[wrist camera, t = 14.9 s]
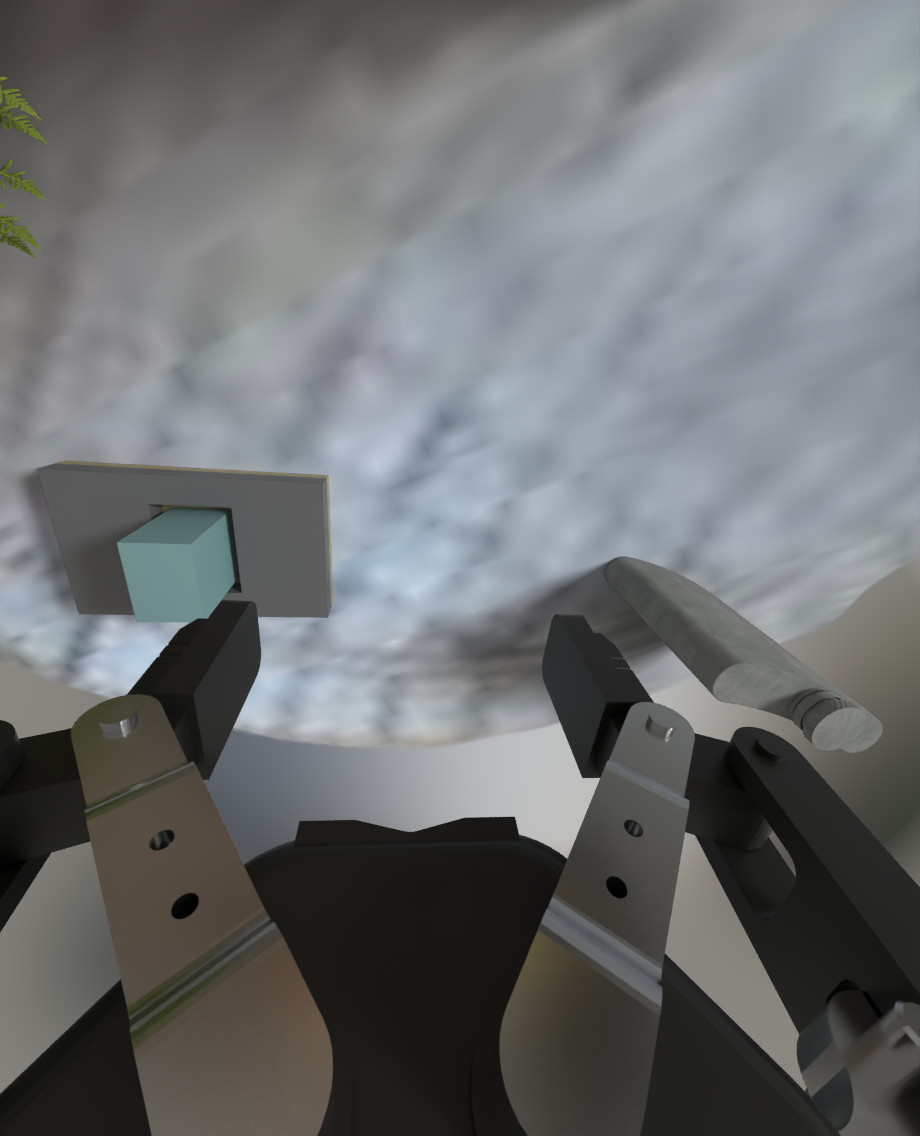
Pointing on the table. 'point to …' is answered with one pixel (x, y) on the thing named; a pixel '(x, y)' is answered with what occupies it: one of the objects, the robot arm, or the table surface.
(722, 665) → the hip flask
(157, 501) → the block
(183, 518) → the plug
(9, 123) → the fern plant
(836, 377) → the table surface
